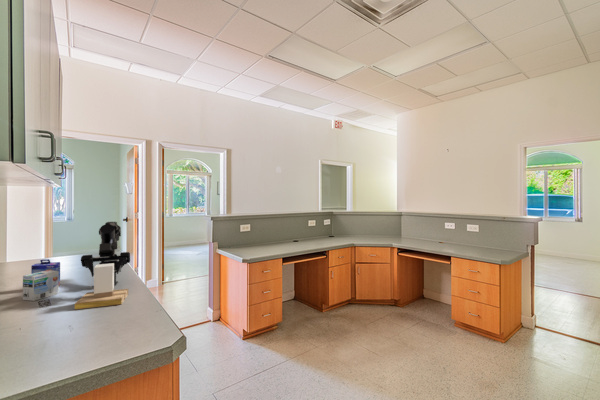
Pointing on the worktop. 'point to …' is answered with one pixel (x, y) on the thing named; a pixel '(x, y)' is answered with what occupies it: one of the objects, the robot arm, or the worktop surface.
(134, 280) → the worktop surface
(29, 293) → the light bulb box
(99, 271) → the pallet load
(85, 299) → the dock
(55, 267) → the ink cartridge box
